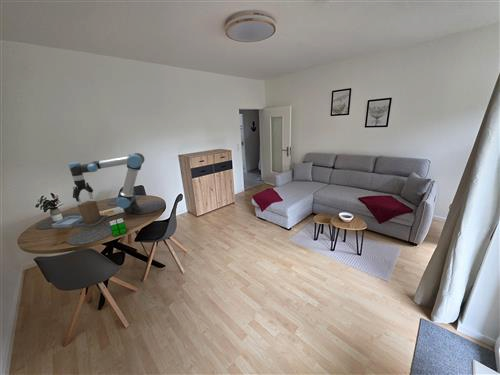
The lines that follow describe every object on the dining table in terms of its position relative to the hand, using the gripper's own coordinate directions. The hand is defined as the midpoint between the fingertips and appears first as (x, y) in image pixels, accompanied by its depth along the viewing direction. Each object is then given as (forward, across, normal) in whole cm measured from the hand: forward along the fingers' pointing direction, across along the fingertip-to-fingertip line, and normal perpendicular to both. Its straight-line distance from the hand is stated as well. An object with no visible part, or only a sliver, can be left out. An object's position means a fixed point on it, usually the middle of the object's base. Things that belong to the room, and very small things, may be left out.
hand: (86, 201), depth 185 cm
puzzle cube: (+21, +22, +42) cm, 51 cm away
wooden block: (+21, 0, 0) cm, 21 cm away
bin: (+21, +1, -21) cm, 30 cm away
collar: (+21, 0, 0) cm, 21 cm away
